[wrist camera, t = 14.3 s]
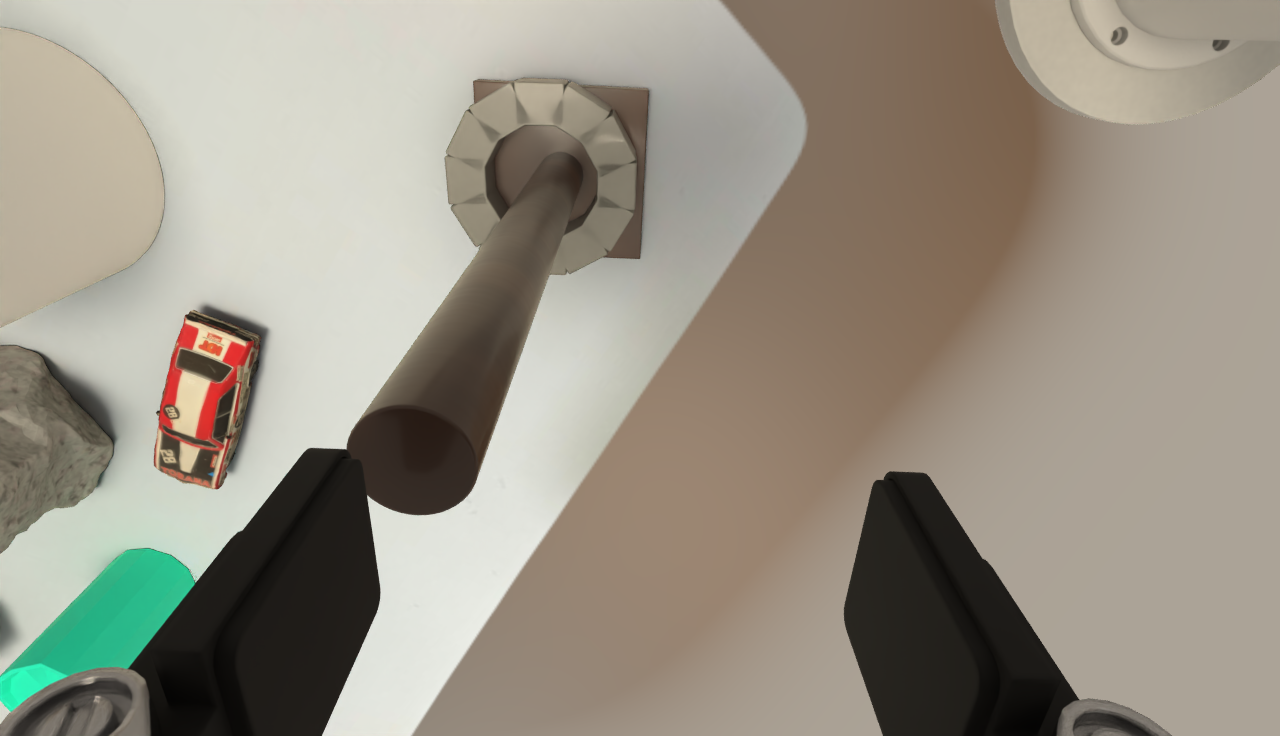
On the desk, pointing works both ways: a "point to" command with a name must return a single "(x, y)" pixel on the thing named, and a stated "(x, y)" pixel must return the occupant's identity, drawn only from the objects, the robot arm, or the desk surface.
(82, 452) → the decorative stone
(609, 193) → the grey faceted ring
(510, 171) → the post
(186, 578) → the candle
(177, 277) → the desk surface
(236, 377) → the race car
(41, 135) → the canister
